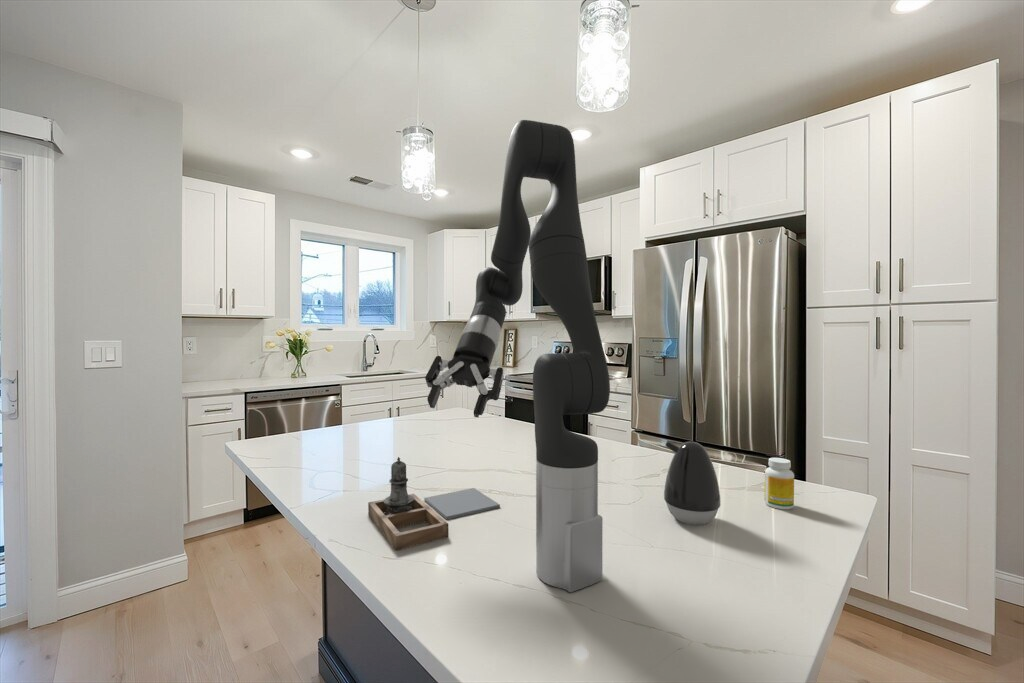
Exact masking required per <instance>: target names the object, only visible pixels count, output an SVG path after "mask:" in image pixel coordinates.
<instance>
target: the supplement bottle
mask: <svg viewBox="0 0 1024 683" xmlns="http://www.w3.org/2000/svg"><path fill="white" fill-rule="evenodd" d="M791 465H792V464H791V460H790V459H786V458H783V457H770V458H769V457H768V466H769V467H767V468H765V469H764V490H763V492H764V493H763V494H764V495H763V496H764V499H763V501H764V503H765V505H766V506H768V507H771V508H774V509H778V510H783V511H785V510H791V509H793V508H794V506H795V503H794V502H795V473H794V472H793V471H792V470H790V469H791V467H792V466H791Z"/></svg>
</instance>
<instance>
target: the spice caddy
mask: <svg viewBox="0 0 1024 683" xmlns="http://www.w3.org/2000/svg"><path fill="white" fill-rule="evenodd" d="M408 495H411V496H413V497H414V501H413V502H412V506H411V508H410V510H409V511H405V512H401V513H396V514H391V515H388V514H386V515H385V513H384V512H386V513H389V512H388V511H387V509H386V507H385V504H384V502H383V501H384V499H385V498H384V499H379V500H378V499H377V500H375V501H369V502H367V503H368V504H367V506H368V508H367V510H368V514H367V515H368V516H369V515H370V516H369V517H370V518H371V520H372V519H373V520H372V521H373V523H374V524H375V523H376V524H375V525H376V526H377V528H378V527H379V528H378V529H379V530H380V531H381V533H382V534H383V536H384V537H385V538H386V540H387V541H388V542H389V544H390V545H391V546H392V548H393V549H394V550H395V551H399V550H404V549H407V548H411V547H415V546H420V545H423V544H427V543H431V542H435V541H439V540H443V539H446V538H449V523H448V522H447V521H446V519H445V518H443V517H441V516H440V514H439V513H438V512H437V511H435V510H434V509H433V508H432V507H431V506H430V505H429V504H427V503H426V502H425V501H424V500H422V499H421V498H420V497H419V496H418V495H416V494H415V493H411V494H408ZM425 522H426V523H427V526H423V527H419V528H414V529H409V530H406V531H405V530H404V531H401V532H400V531H399V530H398V529H399V528H403V527H408V526H413V525H416V524H422V523H425Z"/></svg>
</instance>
